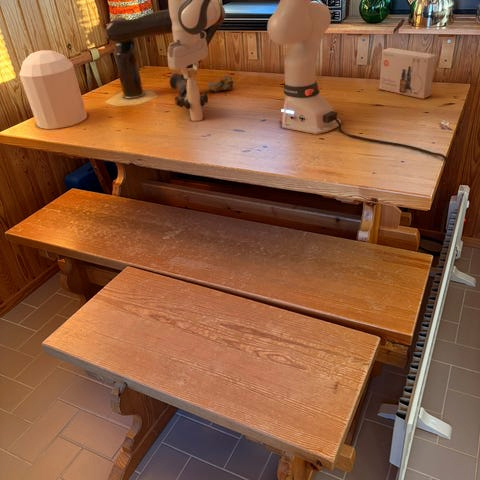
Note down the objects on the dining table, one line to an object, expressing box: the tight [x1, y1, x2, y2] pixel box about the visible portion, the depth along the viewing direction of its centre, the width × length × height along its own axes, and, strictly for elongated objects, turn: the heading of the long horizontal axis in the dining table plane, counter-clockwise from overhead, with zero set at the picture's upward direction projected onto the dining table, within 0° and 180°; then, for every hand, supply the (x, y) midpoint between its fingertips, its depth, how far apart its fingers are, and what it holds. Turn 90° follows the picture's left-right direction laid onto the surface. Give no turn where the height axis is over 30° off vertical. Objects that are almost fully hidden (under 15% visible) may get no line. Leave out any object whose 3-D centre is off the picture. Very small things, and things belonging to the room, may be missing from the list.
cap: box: [186, 68, 197, 77], centre depth 174 cm, size 4×4×2 cm
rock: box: [207, 74, 234, 93], centre depth 212 cm, size 11×6×10 cm
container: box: [19, 49, 88, 130], centre depth 189 cm, size 21×21×28 cm
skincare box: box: [378, 47, 437, 100], centre depth 184 cm, size 21×6×16 cm, turn 40°
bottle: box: [186, 76, 204, 122], centre depth 179 cm, size 5×5×18 cm
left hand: (196, 105), depth 178 cm, fingers closed on bottle, 5 cm apart
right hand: (191, 76), depth 175 cm, fingers closed on cap, 4 cm apart
